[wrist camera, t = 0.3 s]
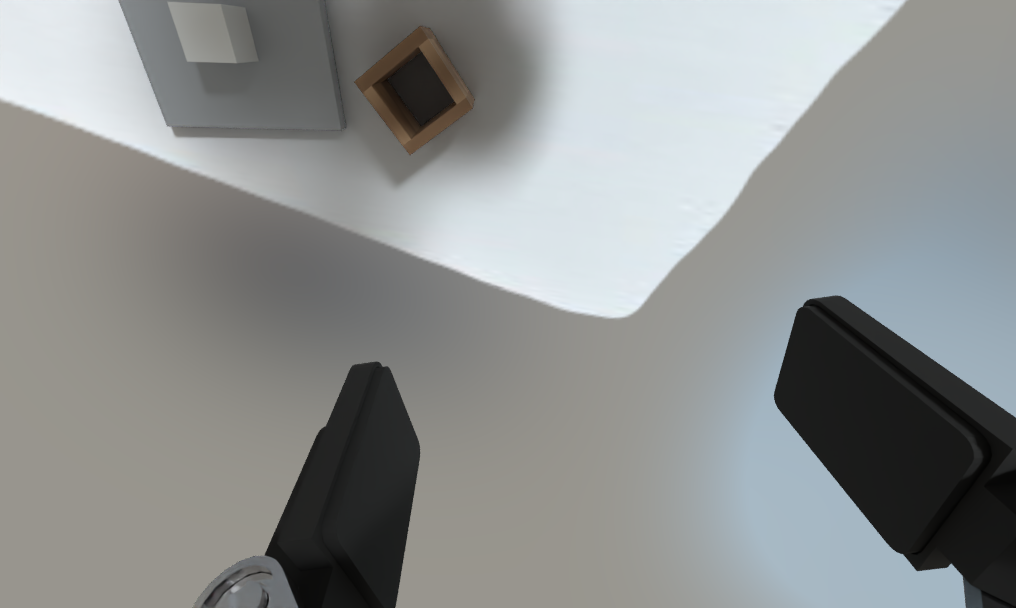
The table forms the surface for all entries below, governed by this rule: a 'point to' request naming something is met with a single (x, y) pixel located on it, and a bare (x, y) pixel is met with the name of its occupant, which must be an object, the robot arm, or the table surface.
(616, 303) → the table surface
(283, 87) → the board
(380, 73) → the wooden cube shelf
